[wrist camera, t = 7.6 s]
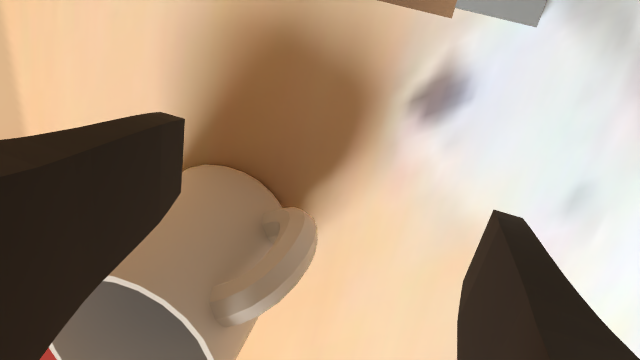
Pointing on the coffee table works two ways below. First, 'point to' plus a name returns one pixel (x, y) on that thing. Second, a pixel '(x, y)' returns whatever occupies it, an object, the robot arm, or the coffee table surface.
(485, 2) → the stand
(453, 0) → the case
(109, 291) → the cup
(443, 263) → the coffee table surface
